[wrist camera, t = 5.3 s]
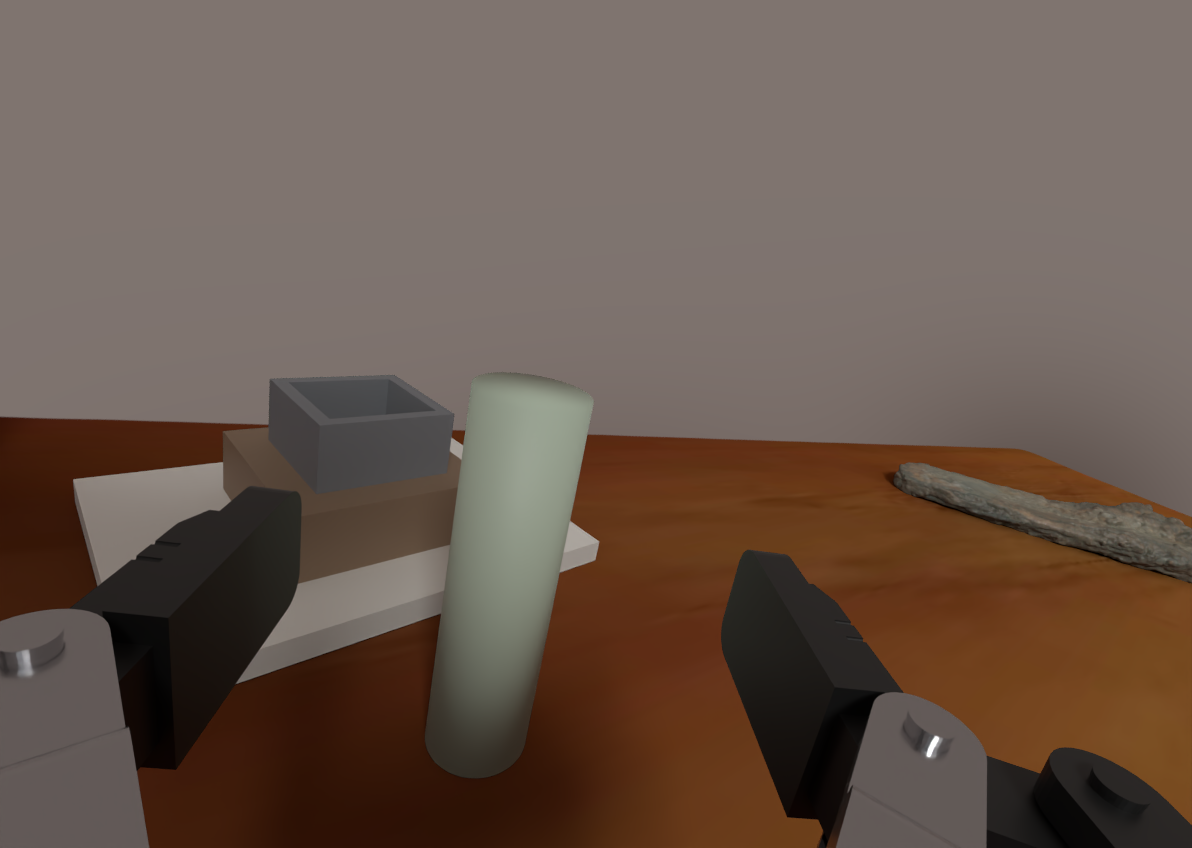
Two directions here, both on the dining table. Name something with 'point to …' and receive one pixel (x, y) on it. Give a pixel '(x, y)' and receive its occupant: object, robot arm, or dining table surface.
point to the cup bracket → (320, 508)
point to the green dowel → (503, 566)
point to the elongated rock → (1062, 519)
